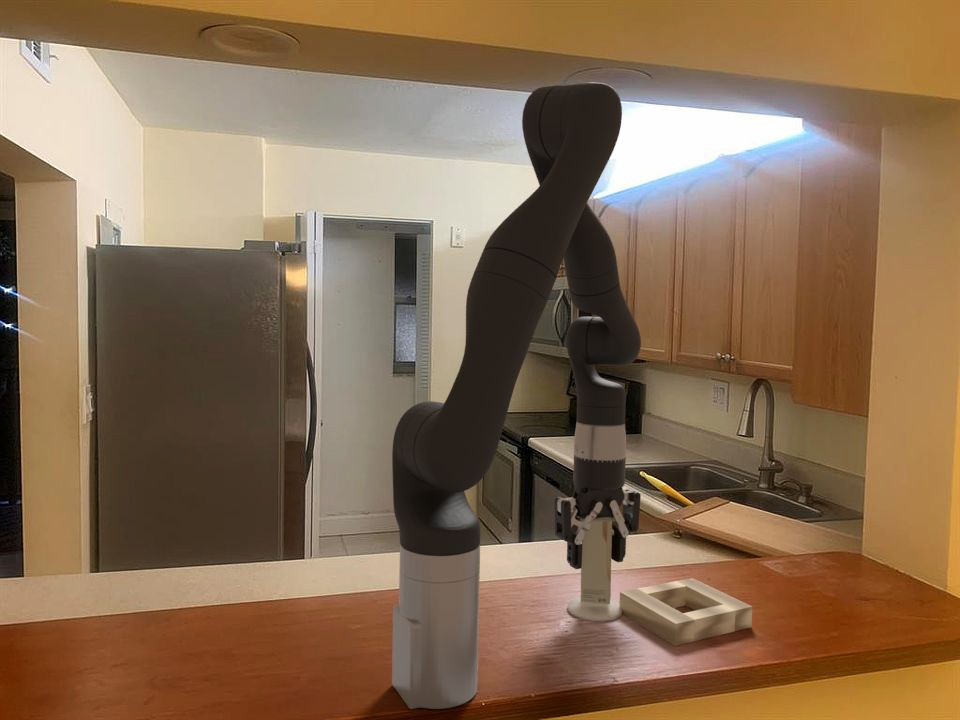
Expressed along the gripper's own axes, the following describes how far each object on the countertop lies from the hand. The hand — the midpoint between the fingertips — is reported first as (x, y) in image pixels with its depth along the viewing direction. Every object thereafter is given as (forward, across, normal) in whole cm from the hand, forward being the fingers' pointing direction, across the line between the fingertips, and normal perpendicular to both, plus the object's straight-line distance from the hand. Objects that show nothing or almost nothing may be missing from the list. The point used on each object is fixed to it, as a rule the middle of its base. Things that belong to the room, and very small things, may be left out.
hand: (596, 563), depth 106 cm
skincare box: (+5, 0, 0) cm, 5 cm away
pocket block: (+7, +10, -8) cm, 15 cm away
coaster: (+7, 0, 0) cm, 7 cm away
